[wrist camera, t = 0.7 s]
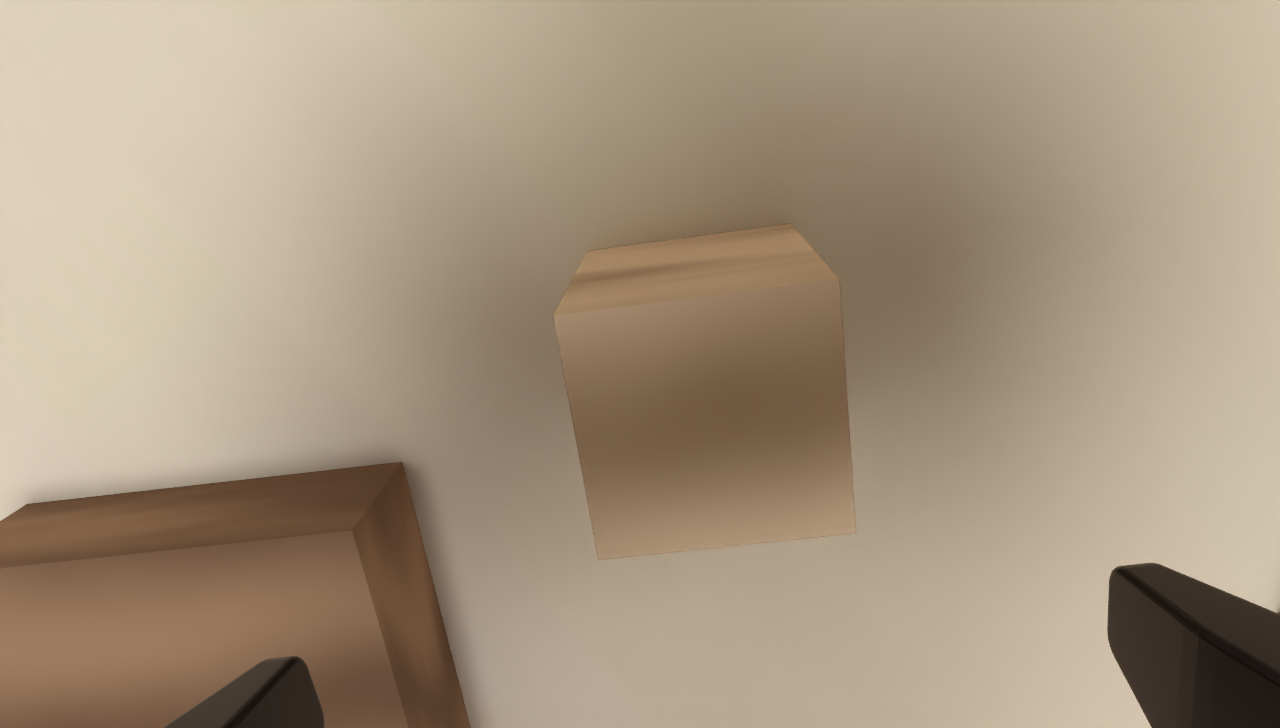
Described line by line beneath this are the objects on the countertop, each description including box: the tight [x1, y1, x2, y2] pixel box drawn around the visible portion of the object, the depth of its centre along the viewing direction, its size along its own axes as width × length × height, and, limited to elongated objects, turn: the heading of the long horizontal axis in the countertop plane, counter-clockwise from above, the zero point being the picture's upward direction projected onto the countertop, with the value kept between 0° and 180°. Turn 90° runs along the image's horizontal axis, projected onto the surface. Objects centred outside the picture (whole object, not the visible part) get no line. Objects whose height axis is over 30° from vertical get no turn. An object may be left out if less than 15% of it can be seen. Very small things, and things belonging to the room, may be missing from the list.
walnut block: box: [0, 462, 470, 728], centre depth 22 cm, size 11×11×4 cm
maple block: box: [553, 224, 856, 560], centre depth 18 cm, size 5×5×6 cm
